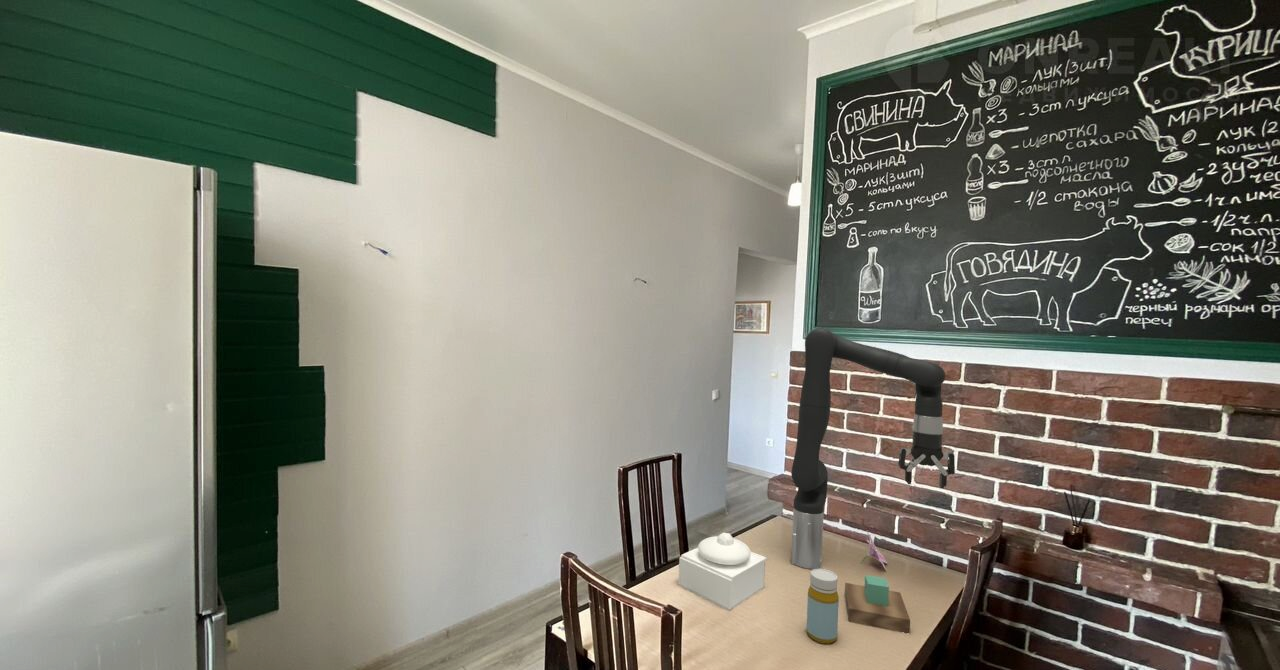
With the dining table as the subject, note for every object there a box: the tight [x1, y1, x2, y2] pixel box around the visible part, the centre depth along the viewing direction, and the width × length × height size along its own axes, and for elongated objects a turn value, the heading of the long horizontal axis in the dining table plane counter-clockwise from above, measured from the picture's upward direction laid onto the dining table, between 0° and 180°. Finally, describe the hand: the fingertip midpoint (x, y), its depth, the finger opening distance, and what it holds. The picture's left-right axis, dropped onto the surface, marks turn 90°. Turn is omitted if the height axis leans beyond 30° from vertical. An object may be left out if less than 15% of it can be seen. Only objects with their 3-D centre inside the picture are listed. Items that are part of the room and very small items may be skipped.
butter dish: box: [678, 532, 768, 611], centre depth 144 cm, size 18×18×16 cm
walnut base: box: [844, 582, 911, 634], centre depth 133 cm, size 14×14×4 cm
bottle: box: [806, 568, 840, 645], centre depth 122 cm, size 7×7×15 cm
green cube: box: [864, 574, 890, 606], centre depth 133 cm, size 5×5×5 cm
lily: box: [860, 531, 888, 572], centre depth 161 cm, size 12×12×10 cm
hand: (925, 485), depth 147 cm, fingers open, 8 cm apart
